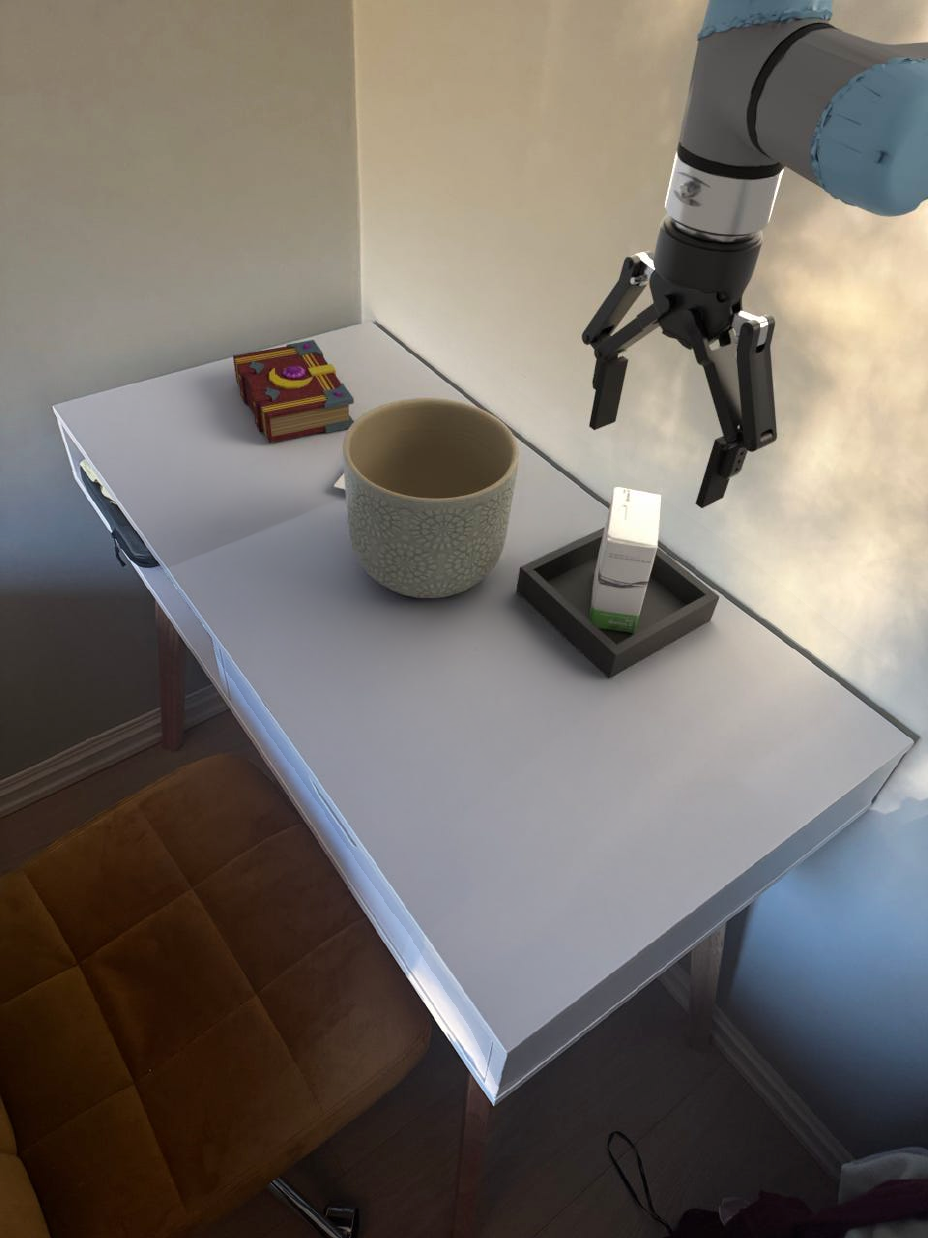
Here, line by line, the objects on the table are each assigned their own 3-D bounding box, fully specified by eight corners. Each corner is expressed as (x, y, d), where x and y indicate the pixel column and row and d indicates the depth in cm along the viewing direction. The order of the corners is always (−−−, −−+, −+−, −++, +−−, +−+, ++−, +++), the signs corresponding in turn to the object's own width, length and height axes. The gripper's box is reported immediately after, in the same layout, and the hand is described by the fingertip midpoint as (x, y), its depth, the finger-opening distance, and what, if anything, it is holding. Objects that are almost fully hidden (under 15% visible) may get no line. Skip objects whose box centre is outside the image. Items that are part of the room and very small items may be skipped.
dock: (710, 620, 94) (719, 596, 92) (609, 679, 88) (615, 655, 85) (616, 542, 102) (622, 518, 100) (516, 591, 96) (519, 566, 93)
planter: (352, 511, 103) (348, 393, 92) (500, 515, 104) (513, 400, 93) (342, 618, 91) (335, 498, 80) (508, 622, 92) (525, 504, 81)
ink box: (634, 635, 91) (659, 548, 83) (586, 627, 92) (606, 539, 83) (639, 579, 97) (663, 492, 89) (593, 571, 98) (612, 483, 89)
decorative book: (267, 447, 110) (263, 412, 107) (231, 380, 120) (227, 346, 117) (355, 429, 114) (354, 394, 111) (313, 365, 124) (311, 331, 120)
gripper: (563, 173, 71) (533, 406, 86) (819, 303, 58) (729, 553, 73) (632, 157, 74) (591, 385, 90) (888, 277, 61) (789, 521, 76)
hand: (653, 461), depth 81 cm, fingers open, 13 cm apart
